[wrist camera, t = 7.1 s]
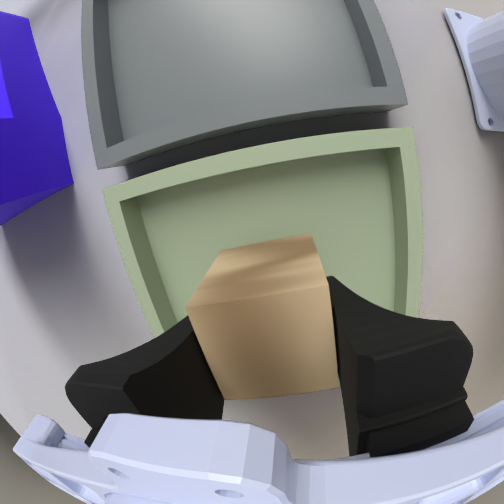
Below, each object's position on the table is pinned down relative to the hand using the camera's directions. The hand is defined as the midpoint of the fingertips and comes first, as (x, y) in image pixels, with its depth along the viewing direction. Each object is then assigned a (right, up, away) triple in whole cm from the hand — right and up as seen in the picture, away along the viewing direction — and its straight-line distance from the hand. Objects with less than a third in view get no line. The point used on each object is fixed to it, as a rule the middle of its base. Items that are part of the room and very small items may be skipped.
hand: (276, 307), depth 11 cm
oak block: (0, +1, +1) cm, 1 cm away
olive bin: (0, +1, +3) cm, 3 cm away
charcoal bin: (-2, +14, -1) cm, 14 cm away
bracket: (-19, +14, +1) cm, 24 cm away
